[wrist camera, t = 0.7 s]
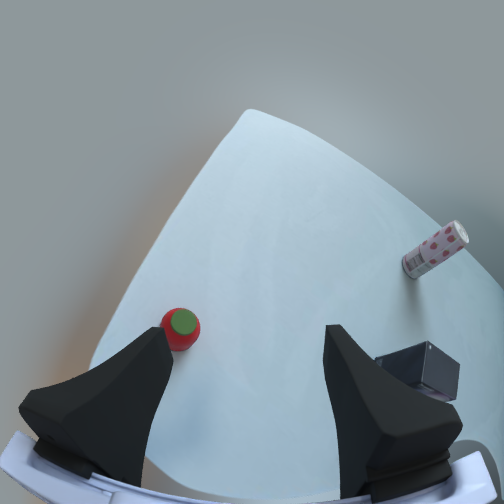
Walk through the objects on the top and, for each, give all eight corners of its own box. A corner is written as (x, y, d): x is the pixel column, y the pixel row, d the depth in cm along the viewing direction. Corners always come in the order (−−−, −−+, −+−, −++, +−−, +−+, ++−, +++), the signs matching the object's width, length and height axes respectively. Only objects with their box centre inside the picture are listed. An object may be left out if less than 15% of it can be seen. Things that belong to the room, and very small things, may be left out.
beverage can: (418, 266, 56) (468, 232, 44) (416, 284, 52) (470, 249, 40) (403, 251, 56) (452, 213, 44) (399, 268, 52) (454, 229, 40)
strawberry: (184, 358, 29) (193, 350, 25) (152, 338, 29) (154, 327, 25) (201, 327, 32) (212, 315, 28) (169, 309, 31) (176, 293, 27)
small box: (365, 394, 35) (421, 382, 27) (374, 356, 39) (426, 337, 31) (405, 411, 36) (457, 401, 27) (412, 377, 40) (461, 362, 31)
